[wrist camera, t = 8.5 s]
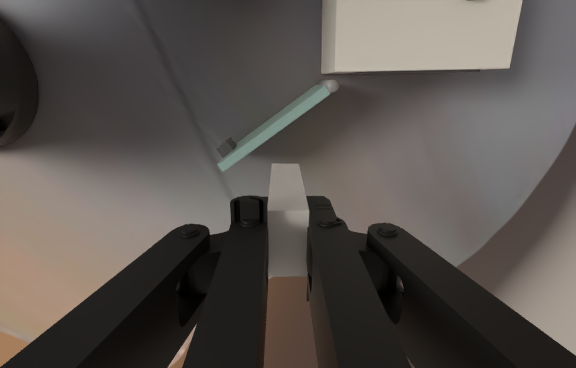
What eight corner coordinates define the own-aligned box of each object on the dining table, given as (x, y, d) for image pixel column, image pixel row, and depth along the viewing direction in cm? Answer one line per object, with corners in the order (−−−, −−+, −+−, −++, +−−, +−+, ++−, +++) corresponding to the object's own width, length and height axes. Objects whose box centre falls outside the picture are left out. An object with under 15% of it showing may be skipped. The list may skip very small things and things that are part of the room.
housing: (321, 75, 32) (336, 73, 24) (322, -26, 30) (340, -71, 21) (461, 72, 33) (528, 69, 24) (477, -28, 30) (559, -74, 21)
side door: (317, 70, 32) (328, 67, 25) (327, 86, 33) (341, 87, 25) (224, 140, 34) (209, 156, 27) (235, 154, 35) (223, 172, 28)
